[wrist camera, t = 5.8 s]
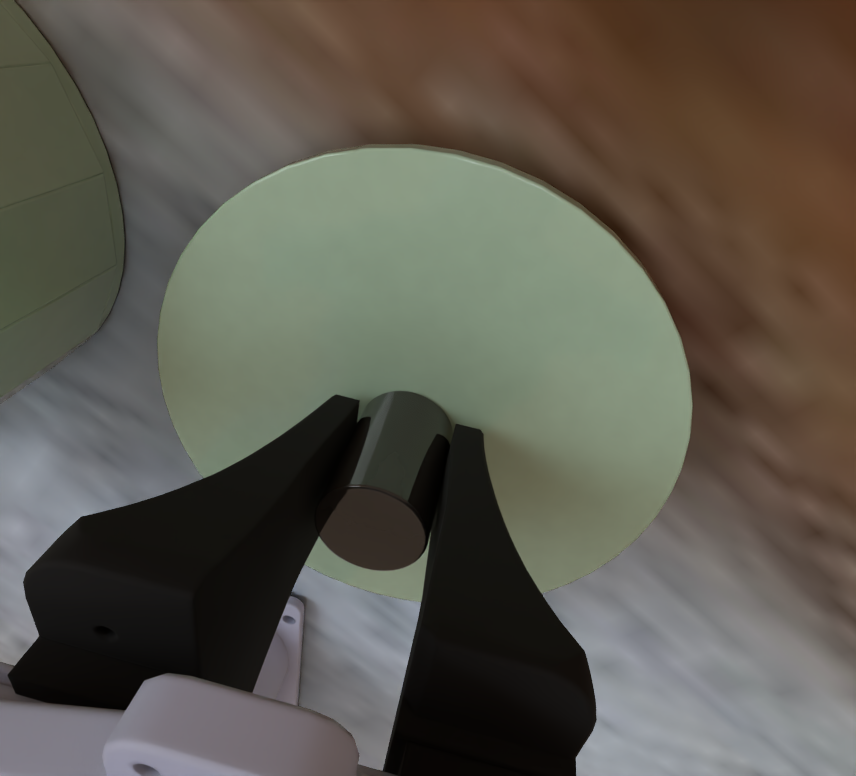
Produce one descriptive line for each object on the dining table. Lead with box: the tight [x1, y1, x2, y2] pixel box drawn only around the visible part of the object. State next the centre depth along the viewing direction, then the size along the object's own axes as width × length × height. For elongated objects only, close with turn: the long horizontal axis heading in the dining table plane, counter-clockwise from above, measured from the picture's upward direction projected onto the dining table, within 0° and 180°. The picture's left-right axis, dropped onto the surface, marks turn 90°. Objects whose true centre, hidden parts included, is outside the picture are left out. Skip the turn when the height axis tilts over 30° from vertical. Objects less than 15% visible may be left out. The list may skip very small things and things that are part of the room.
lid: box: [157, 144, 693, 602], centre depth 14 cm, size 13×13×5 cm
